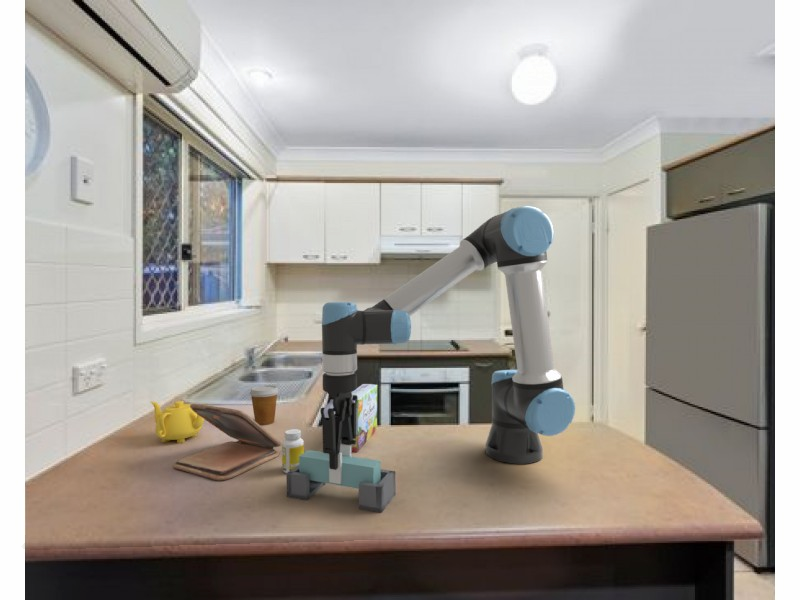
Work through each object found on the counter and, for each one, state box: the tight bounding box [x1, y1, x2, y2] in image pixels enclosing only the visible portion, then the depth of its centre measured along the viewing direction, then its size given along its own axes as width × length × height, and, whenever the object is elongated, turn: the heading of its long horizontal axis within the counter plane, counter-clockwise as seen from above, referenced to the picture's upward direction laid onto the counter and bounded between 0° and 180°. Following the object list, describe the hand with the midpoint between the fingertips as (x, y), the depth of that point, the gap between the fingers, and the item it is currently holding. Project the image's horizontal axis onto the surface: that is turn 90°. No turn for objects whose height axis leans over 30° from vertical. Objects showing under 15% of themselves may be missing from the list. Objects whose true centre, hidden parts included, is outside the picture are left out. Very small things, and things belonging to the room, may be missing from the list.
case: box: [172, 403, 282, 481], centre depth 118 cm, size 20×21×16 cm
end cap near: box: [358, 469, 396, 513], centre depth 94 cm, size 5×8×5 cm, turn 161°
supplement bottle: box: [281, 428, 305, 474], centre depth 111 cm, size 5×5×10 cm
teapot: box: [150, 400, 205, 445], centre depth 135 cm, size 20×15×12 cm
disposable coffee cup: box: [249, 384, 279, 426], centre depth 152 cm, size 10×10×12 cm
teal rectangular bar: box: [299, 449, 382, 490], centre depth 97 cm, size 18×4×5 cm, turn 70°
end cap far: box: [285, 465, 327, 501], centre depth 100 cm, size 5×8×5 cm, turn 161°
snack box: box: [340, 383, 378, 453], centre depth 133 cm, size 21×6×15 cm, turn 168°
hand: (340, 477), depth 97 cm, fingers closed on teal rectangular bar, 4 cm apart
